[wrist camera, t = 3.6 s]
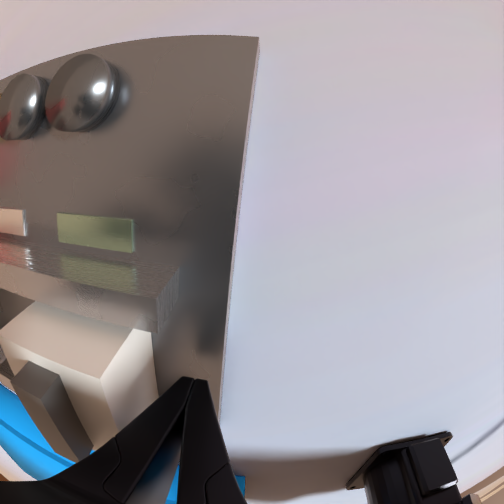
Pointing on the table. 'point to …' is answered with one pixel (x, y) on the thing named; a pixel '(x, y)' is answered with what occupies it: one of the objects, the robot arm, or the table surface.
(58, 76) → the panel
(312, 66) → the table surface
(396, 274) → the table surface
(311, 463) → the table surface
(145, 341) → the breaker
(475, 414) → the table surface
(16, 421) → the book
